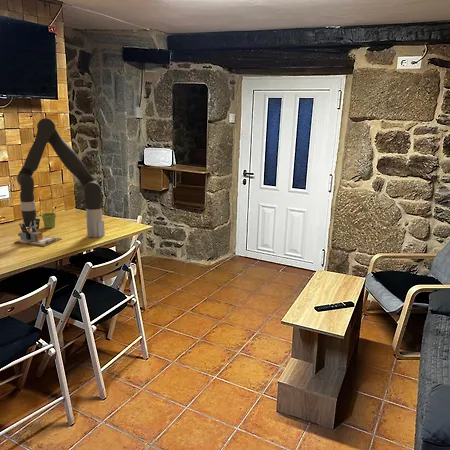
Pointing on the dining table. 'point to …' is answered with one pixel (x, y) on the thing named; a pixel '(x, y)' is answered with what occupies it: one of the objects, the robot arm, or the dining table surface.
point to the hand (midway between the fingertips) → (31, 238)
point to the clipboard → (43, 242)
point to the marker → (32, 236)
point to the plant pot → (49, 219)
